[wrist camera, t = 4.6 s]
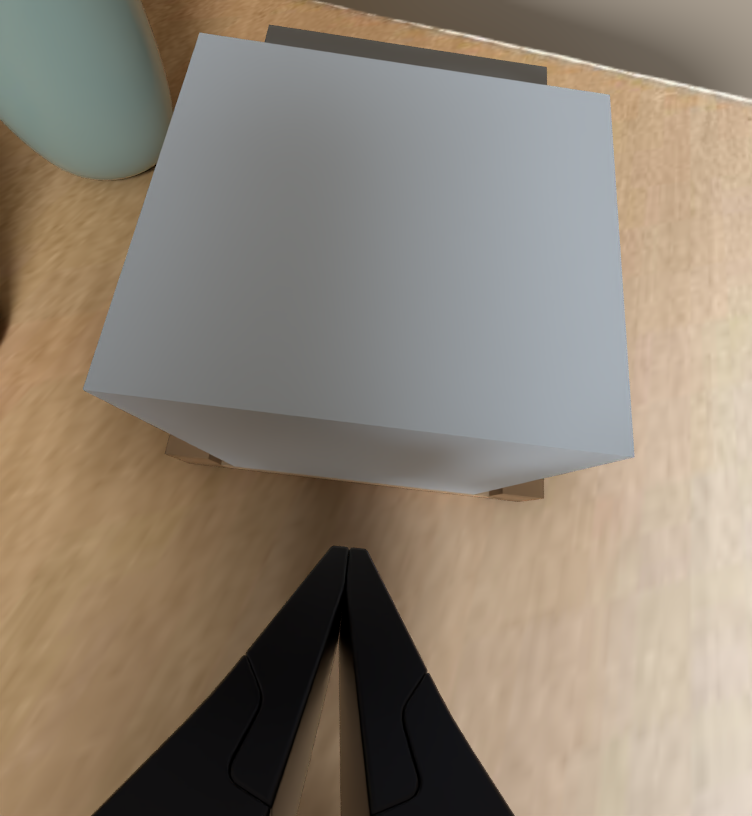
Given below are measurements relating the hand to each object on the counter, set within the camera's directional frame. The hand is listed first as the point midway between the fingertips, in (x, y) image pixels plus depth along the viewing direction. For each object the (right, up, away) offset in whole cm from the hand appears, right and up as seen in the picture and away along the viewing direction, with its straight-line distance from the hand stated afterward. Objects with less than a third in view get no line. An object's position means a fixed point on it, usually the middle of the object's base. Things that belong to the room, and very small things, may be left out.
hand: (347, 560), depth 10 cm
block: (0, +5, +9) cm, 10 cm away
